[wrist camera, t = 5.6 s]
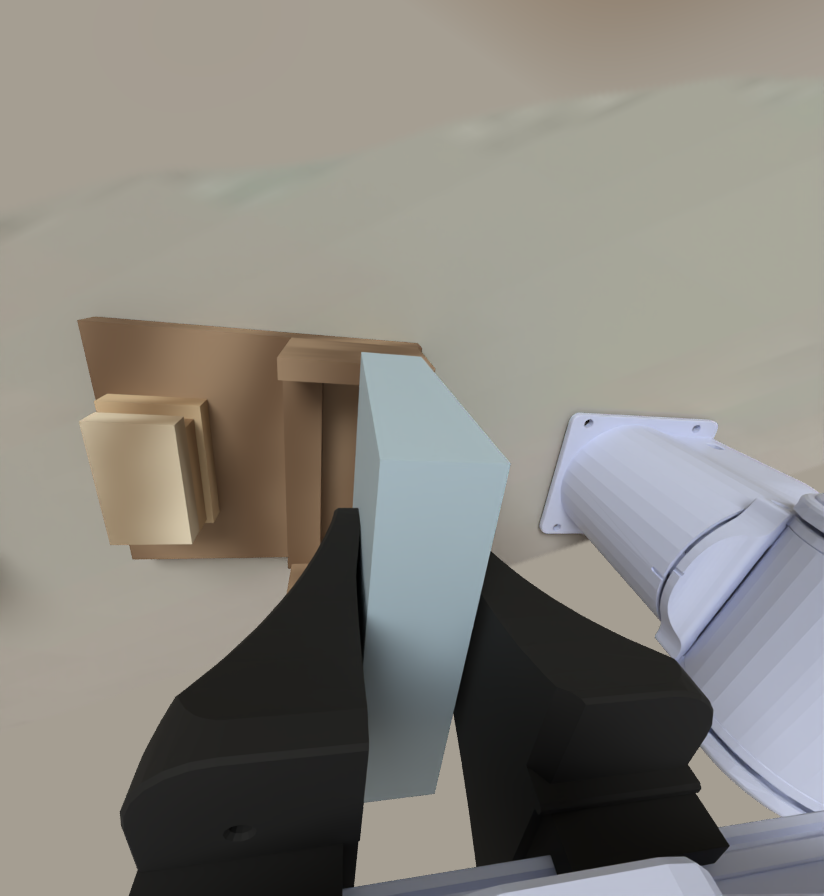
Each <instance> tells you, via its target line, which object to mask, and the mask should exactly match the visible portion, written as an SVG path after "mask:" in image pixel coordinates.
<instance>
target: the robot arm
mask: <svg viewBox="0 0 824 896" xmlns="http://www.w3.org/2000/svg"><path fill="white" fill-rule="evenodd" d="M587 420H589V423H588V424H587V425H584V423H585V422H586V421H587ZM694 426H695V427H694ZM693 427H694V429H693ZM692 429H693V430H692ZM717 429H718V424H717V423H716V422H714V421H712V420H705V419H687V418H668V417H650V416H632V415H613V414H595V413H576V414H574V415H573V416H572V417H571V418H570V420H569V423H568V427H567V430H566V434H565V437H564V441H563V444H562V448H561V451H560V455H559V458H558V462H557V465H556V469H555V472H554V476H553V479H552V483H551V486H550V490H549V493H548V497H547V500H546V504H545V507H544V511H543V514H542V518H541V521H540V526H539V527H540V529H541V530H542V532H544V533H547V534H564V533H584V534H585V535H586V537H587V538H588V539H589V540H590V541H591V542H592V543H593V545H594V546H595V547H596V548H597V549H598V550H599V551H600V553H601V554H602V555H603V556H604V557H605V558H606V559H607V560H608V562H609V563H610V564H611V565H612V566H613V567H614V568H615V570H616V571H617V572H618V573H619V574H620V575H621V577H622V578H623V579H624V580H625V581H626V582H627V583H628V584H629V586H630V587H631V588H632V589H633V590H634V591H635V592H636V594H637V595H638V596H639V597H640V598H641V599H642V601H643V602H644V603H645V604H646V605H647V606H648V607H649V609H650V610H651V611H652V612H653V613H654V614H655V615H656V617H657V618H658V619H659V620H660V621H661V625H660V628H659V630H658V631H657V633H656V635H655V638H656V640H657V641H658V642H659V643H660V644H661V645H662V647H663V648H664V649H665V650H666V652H667V653H668V654H669V655H670V656H671V657H669V656H666V655H664V654H662V653H659V652H657V651H655V650H653V649H650V648H648V647H646V646H643V645H641V644H638V643H636V642H634V641H631V640H629V639H627V638H625V637H623V636H621V635H619V634H617V633H615V632H612V631H611V630H609V629H607V628H604V627H603V626H601V625H599V624H597V623H595V622H593V621H591V620H589V619H587V618H585V617H583V616H582V615H580V614H578V613H577V612H575V611H573V610H572V609H570V608H568V607H567V606H565V605H563V604H562V603H560V602H558V601H556V600H555V599H553V598H552V597H550V596H549V595H547V594H546V593H544V592H543V591H541V590H540V589H538V588H537V587H535V586H534V585H533V584H531V583H530V582H528V581H527V580H525V579H524V578H523V577H521V576H520V575H519V574H518V573H516V572H515V571H514V570H512V569H511V568H510V567H509V566H508V565H506V564H505V563H504V562H503V561H502V560H500V559H499V558H498V557H497V556H496V555H495V554H493V553H492V552H491V551H490V556H489V560H488V564H487V569H486V573H485V577H484V582H483V586H482V590H481V595H480V599H479V603H478V608H477V612H476V616H475V621H474V625H473V629H472V634H471V638H470V642H469V647H468V651H467V655H466V660H465V664H464V668H463V673H462V677H461V681H460V686H459V690H458V694H457V699H456V703H455V707H454V712H453V714H454V720H455V725H456V732H457V737H458V743H459V749H460V755H461V761H462V768H463V775H464V780H465V788H466V795H467V801H468V808H469V815H470V823H471V830H472V837H473V845H474V852H475V860H476V867H474V868H468V869H462V870H456V871H449V872H443V873H438V874H431V875H425V876H419V877H413V878H407V879H400V880H394V881H388V882H382V883H377V884H370V885H364V886H358V887H354V881H355V870H356V860H357V851H358V841H360V833H361V824H362V814H363V805H364V795H365V785H366V776H367V766H368V756H369V730H368V709H367V700H366V692H365V683H364V673H363V664H362V654H361V642H360V630H359V617H358V603H357V573H358V558H359V542H360V516H359V509H358V508H337V509H336V510H335V511H334V514H333V518H332V521H331V523H330V526H329V528H328V530H327V532H326V534H325V537H324V538H323V540H322V542H321V544H320V546H319V548H318V549H317V551H316V553H315V555H314V556H313V558H312V559H311V561H310V562H309V564H308V565H307V567H306V568H305V570H304V572H303V573H302V575H301V576H300V577H299V579H298V580H297V581H296V583H295V584H294V585H293V587H292V588H291V589H290V591H289V592H288V593H287V594H286V596H285V597H284V598H283V599H282V600H281V602H280V603H279V604H278V605H277V606H276V607H275V608H274V609H273V611H272V612H271V613H270V614H269V615H268V616H267V617H266V618H265V619H264V620H263V622H262V623H261V624H260V625H259V626H258V627H257V628H256V629H255V630H254V631H253V632H252V633H251V634H249V635H248V636H247V637H246V638H245V639H244V640H243V641H242V642H241V643H240V644H239V645H238V646H237V647H236V648H234V649H233V650H232V651H231V652H230V653H229V654H228V655H227V656H226V657H225V658H224V659H222V660H221V661H220V662H219V663H218V664H217V665H215V666H214V667H213V668H212V669H210V670H209V671H208V672H207V673H205V674H204V675H203V676H202V677H200V678H199V679H198V680H196V681H195V682H194V683H193V684H191V685H190V686H189V687H188V688H187V689H185V690H184V691H183V692H181V693H180V694H179V695H177V696H176V697H175V699H174V700H173V702H172V704H171V705H170V707H169V708H168V710H167V712H166V713H165V715H164V717H163V718H162V720H161V722H160V724H159V725H158V727H157V729H156V731H155V733H154V735H153V737H152V738H151V740H150V742H149V744H148V746H147V748H146V750H145V752H144V754H143V756H142V758H141V761H140V763H139V765H138V768H137V770H136V773H135V775H134V778H133V780H132V783H131V785H130V788H129V790H128V793H127V795H126V798H125V801H124V803H123V805H122V808H121V811H120V818H121V827H122V829H123V832H124V834H125V837H126V840H127V843H128V845H129V848H130V850H131V853H132V856H133V859H134V861H135V864H136V866H137V869H138V871H137V874H136V877H135V879H134V882H133V885H132V888H131V891H130V894H129V896H824V493H819V492H818V491H816V490H815V489H813V488H812V487H810V486H808V485H807V484H805V483H803V482H801V481H799V480H797V479H795V478H793V477H791V476H789V475H787V474H785V473H783V472H781V471H778V470H776V469H774V468H772V467H770V466H768V465H766V464H764V463H762V462H760V461H758V460H756V459H754V458H751V457H749V456H747V455H745V454H743V453H741V452H739V451H737V450H735V449H733V448H731V447H729V446H727V445H724V444H722V443H720V442H718V441H716V440H714V439H713V438H714V436H715V434H716V432H717ZM556 524H557V526H555V527H553V526H554V525H556ZM699 747H701V748H702V749H703V751H704V752H705V753H706V754H707V755H708V757H709V758H710V759H711V760H712V761H713V762H714V763H715V764H716V765H717V767H719V769H720V770H721V771H723V772H724V773H725V774H726V775H727V776H728V777H729V778H730V779H731V780H732V781H733V782H734V783H735V784H736V785H738V786H739V787H740V788H741V789H742V790H743V791H745V792H746V793H747V794H748V795H750V796H751V797H752V798H754V799H755V800H756V801H758V802H759V803H760V804H762V805H763V806H765V807H766V808H768V809H769V810H771V811H773V812H774V813H776V814H778V815H779V816H781V817H779V818H773V819H767V820H761V821H755V822H749V823H743V824H737V825H730V826H724V827H717V825H716V824H715V822H714V821H713V819H712V818H711V816H710V815H709V813H708V811H707V810H706V808H705V807H704V805H703V804H702V803H701V801H700V799H699V798H698V796H697V795H696V793H698V792H699V791H700V790H701V786H700V782H699V780H698V779H697V778H696V776H695V774H694V773H693V772H692V770H691V769H690V767H689V766H688V763H689V761H690V760H691V759H692V757H693V756H694V754H695V753H696V751H697V750H698V748H699Z"/></svg>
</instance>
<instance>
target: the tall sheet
mask: <svg viewBox="0 0 824 896" xmlns="http://www.w3.org/2000/svg"><path fill="white" fill-rule="evenodd" d="M509 469H510V462H509V461H508V460H507V459H506V458H505V456H504V455H503V454H502V453H501V452H500V450H499V449H498V448H497V447H496V446H495V445H494V443H493V442H492V441H491V440H490V439H489V437H488V436H487V435H486V434H485V433H484V431H483V430H482V429H481V428H480V427H479V425H478V424H477V423H476V422H475V421H474V419H473V418H472V417H471V416H470V415H469V413H468V412H467V411H466V410H465V409H464V407H463V406H462V405H461V404H460V403H459V401H458V400H457V399H456V398H455V397H454V395H453V394H452V393H451V392H450V391H449V389H448V388H447V387H446V386H445V385H444V383H443V382H442V381H441V380H440V379H439V377H438V376H437V375H436V374H435V373H434V371H433V370H432V369H431V368H430V367H429V365H428V364H427V363H426V362H425V361H424V359H423V358H422V357H418V356H405V355H393V354H380V353H368V352H361V365H360V383H359V401H358V419H357V438H356V456H355V474H354V492H353V508H358V509H359V516H360V542H359V558H358V573H357V603H358V617H359V630H360V642H361V654H362V664H363V673H364V683H365V692H366V700H367V709H368V730H369V756H368V766H367V776H366V785H365V795H364V803H365V802H373V801H381V800H389V799H397V798H405V797H413V796H421V795H429V794H435V790H436V785H437V781H438V777H439V772H440V768H441V764H442V759H443V754H444V750H445V746H446V742H447V738H448V733H449V729H450V724H451V720H452V716H453V712H454V707H455V703H456V699H457V694H458V690H459V686H460V681H461V677H462V673H463V668H464V664H465V660H466V655H467V651H468V647H469V642H470V638H471V634H472V629H473V625H474V621H475V616H476V612H477V608H478V603H479V599H480V595H481V590H482V586H483V582H484V577H485V573H486V569H487V564H488V560H489V556H490V551H491V547H492V543H493V538H494V534H495V529H496V525H497V521H498V516H499V512H500V508H501V503H502V499H503V495H504V490H505V486H506V482H507V477H508V473H509Z"/></svg>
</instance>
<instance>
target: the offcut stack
mask: <svg viewBox="0 0 824 896" xmlns="http://www.w3.org/2000/svg"><path fill="white" fill-rule="evenodd" d="M94 403H95V408H96V412H94V413H92V414H91V415H89V416H87V417H86V418H84V419H82V420H81V421H79V424H80V428H81V432H82V436H83V440H84V444H85V448H86V452H87V456H88V460H89V463H90V467H91V471H92V475H93V479H94V483H95V487H96V491H97V495H98V499H99V503H100V506H101V510H102V514H103V518H104V522H105V526H106V530H107V534H108V538H109V542H110V545H156V544H192V543H193V542H194V540H195V538H196V536H197V534H198V532H200V531H201V529H202V527H203V525H204V524H205V523H214V521H215V519H216V518H217V516H218V514H219V512H220V510H219V501H218V492H217V483H216V474H215V465H214V456H213V447H212V438H211V429H210V420H209V411H208V402H207V399H199V398H179V397H160V396H141V395H122V394H106V395H104V396H102V397H100V398H99V399H97V400H95V401H94Z"/></svg>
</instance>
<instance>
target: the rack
mask: <svg viewBox="0 0 824 896" xmlns="http://www.w3.org/2000/svg"><path fill="white" fill-rule="evenodd" d="M77 321H78V326H79V330H80V334H81V339H82V343H83V347H84V351H85V356H86V360H87V364H88V369H89V373H90V377H91V382H92V386H93V390H94V395H95V399H96V400H97V399H99V398H100V397H102V396H104V395H106V394H122V395H141V396H160V397H179V398H199V399H207V402H208V411H209V420H210V429H211V438H212V447H213V456H214V465H215V474H216V483H217V492H218V501H219V510H220V512H219V514H218V516H217V518H216V519H215V521H214V523H205V524H204V525H203V527H202V529H201V531H200V532H198V534H197V536H196V538H195V540H194V542H193V543H192V544H156V545H129V546H130V550H131V555H132V559H188V558H254V557H288V569H291V572H290V578H289V583H288V589H287V593H288V592H289V591H290V589H291V588H292V587H293V585H294V584H295V583H296V581H297V580H298V579H299V577H300V576H301V575H302V573H303V572H304V570H305V568H306V567H307V565H308V564H309V562H310V561H311V559H312V558H313V556H314V555H315V553H316V551H317V549H318V548H319V546H320V544H321V542H322V540H323V538H324V537H325V534H326V532H327V530H328V528H329V526H330V523H331V521H332V518H333V514H334V511H335V510H336V509H337V508H353V492H354V474H355V456H356V438H357V419H358V401H359V383H360V365H361V352H368V353H380V354H393V355H405V356H418V357H422V358H423V359H424V361H425V362H426V363H427V364H428V365H429V367H430V368H431V369H432V370H433V371H434V373H435V368H434V367H433V365H432V364H431V363H430V362H429V361H428V359H427V358H426V357H425V356H424V355H423V353H422V348H421V346H420V345H419V344H418V343H408V342H396V341H383V340H371V339H359V338H347V337H335V336H323V335H311V334H299V333H287V332H274V331H262V330H250V329H238V328H226V327H214V326H202V325H190V324H178V323H165V322H153V321H141V320H129V319H117V318H105V317H91V318H86V319H81V320H77Z"/></svg>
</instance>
